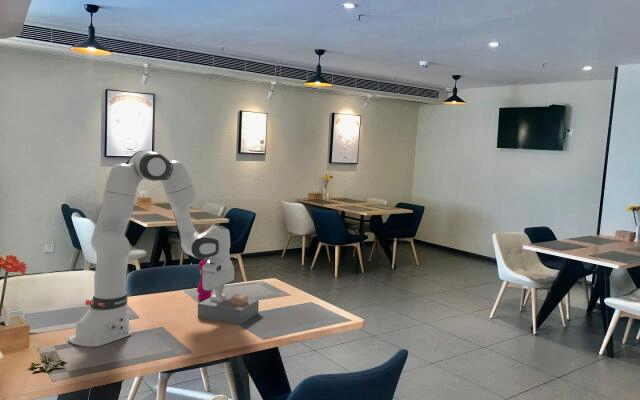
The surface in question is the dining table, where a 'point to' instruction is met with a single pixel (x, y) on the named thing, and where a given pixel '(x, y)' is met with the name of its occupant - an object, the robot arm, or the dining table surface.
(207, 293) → the pepper mill
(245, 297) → the tan cube
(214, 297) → the cream plunger
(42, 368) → the green leafy plant
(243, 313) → the button console
